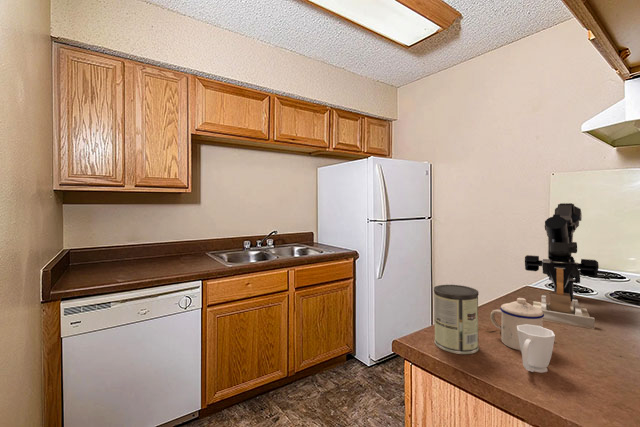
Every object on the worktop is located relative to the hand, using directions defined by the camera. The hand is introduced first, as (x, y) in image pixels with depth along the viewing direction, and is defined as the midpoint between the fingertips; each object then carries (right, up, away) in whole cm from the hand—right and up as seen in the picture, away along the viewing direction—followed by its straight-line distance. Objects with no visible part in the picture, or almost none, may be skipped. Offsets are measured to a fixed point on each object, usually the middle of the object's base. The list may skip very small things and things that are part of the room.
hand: (560, 287), depth 95 cm
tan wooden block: (+1, -7, +1) cm, 8 cm away
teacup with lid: (-26, -10, -18) cm, 33 cm away
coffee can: (-41, -10, -19) cm, 46 cm away
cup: (-30, -10, -31) cm, 44 cm away
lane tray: (-1, -9, -1) cm, 9 cm away
